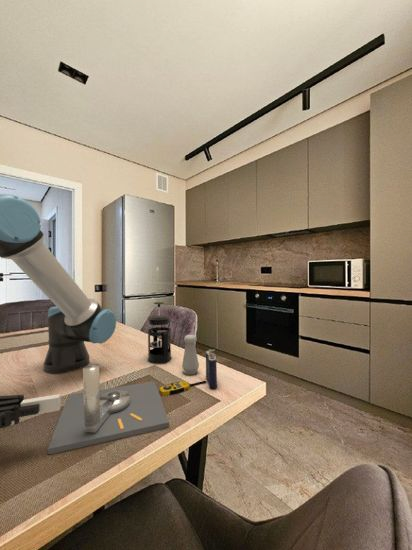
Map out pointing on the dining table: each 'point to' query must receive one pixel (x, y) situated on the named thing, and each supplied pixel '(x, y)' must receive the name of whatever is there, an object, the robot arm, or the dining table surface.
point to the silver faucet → (99, 400)
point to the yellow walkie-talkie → (176, 388)
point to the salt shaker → (190, 355)
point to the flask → (211, 369)
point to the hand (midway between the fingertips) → (59, 402)
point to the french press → (163, 347)
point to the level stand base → (110, 419)
